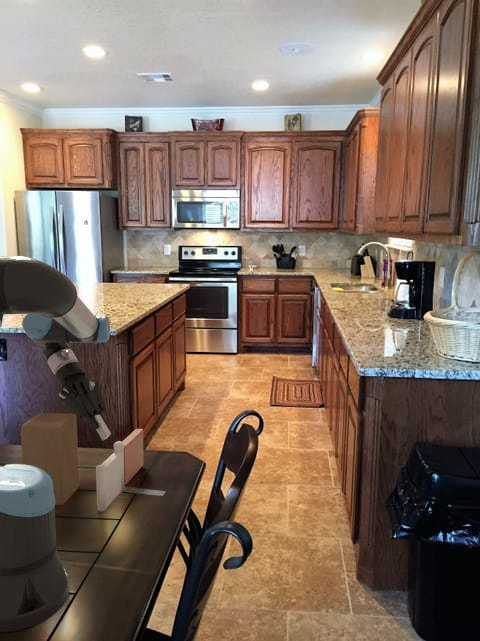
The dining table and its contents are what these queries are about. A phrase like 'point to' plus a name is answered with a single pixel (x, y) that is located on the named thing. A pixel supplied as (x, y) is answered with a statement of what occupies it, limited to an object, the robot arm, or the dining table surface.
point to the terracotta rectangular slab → (133, 454)
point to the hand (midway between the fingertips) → (106, 436)
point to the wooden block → (53, 450)
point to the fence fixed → (110, 477)
